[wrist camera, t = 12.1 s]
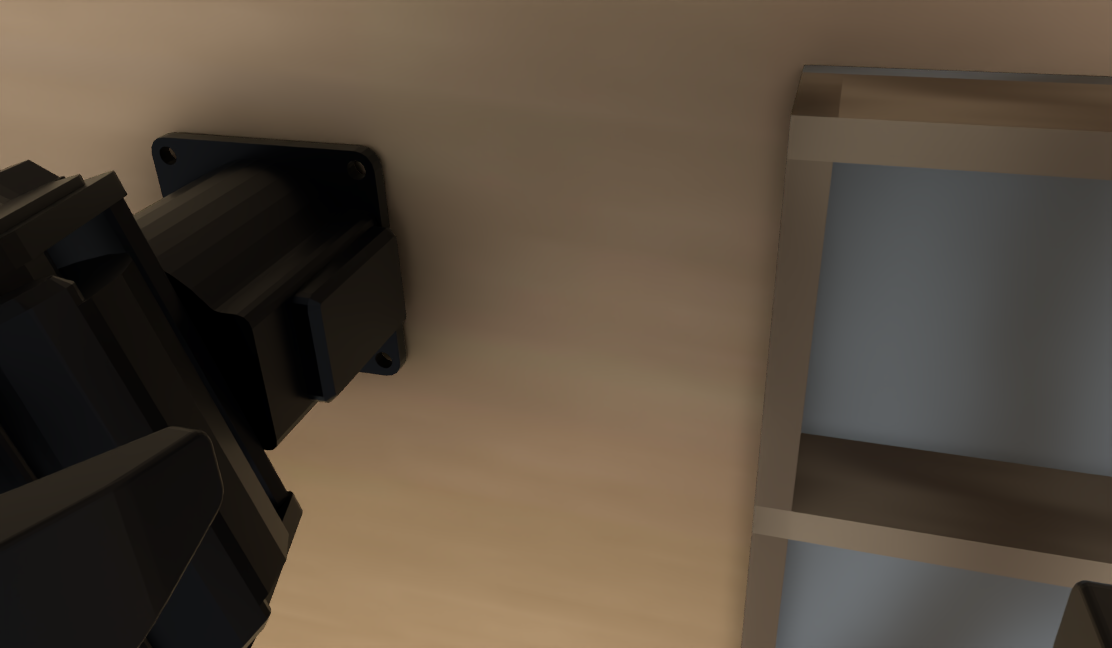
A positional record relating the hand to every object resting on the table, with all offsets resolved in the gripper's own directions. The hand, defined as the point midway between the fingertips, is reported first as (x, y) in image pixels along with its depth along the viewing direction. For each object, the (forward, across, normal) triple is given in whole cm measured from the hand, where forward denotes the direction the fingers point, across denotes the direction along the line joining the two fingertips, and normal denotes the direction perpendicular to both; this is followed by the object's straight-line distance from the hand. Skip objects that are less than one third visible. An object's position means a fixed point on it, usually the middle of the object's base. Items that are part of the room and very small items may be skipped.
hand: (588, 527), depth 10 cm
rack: (+13, -6, +12) cm, 19 cm away
